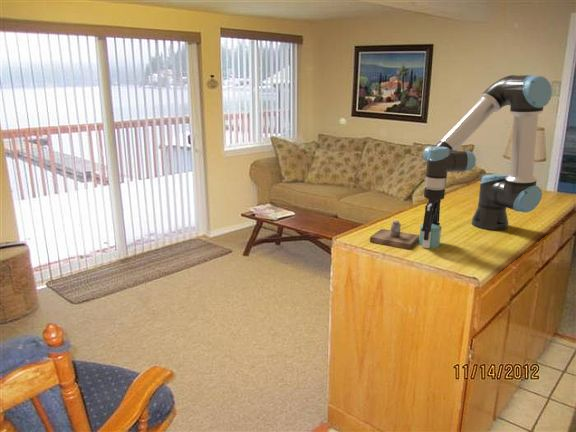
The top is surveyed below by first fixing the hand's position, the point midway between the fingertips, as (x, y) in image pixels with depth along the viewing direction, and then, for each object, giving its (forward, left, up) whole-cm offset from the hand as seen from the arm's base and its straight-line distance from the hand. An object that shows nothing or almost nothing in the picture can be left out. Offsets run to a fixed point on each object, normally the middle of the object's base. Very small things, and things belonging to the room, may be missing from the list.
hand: (428, 244), depth 190 cm
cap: (0, 0, 0) cm, 0 cm away
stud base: (+13, +3, 0) cm, 13 cm away
